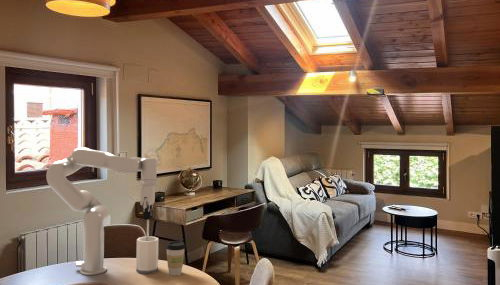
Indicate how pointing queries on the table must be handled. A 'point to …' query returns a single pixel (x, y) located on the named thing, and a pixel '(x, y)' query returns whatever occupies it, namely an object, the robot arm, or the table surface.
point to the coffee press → (147, 255)
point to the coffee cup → (175, 257)
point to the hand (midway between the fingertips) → (148, 218)
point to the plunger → (148, 225)
